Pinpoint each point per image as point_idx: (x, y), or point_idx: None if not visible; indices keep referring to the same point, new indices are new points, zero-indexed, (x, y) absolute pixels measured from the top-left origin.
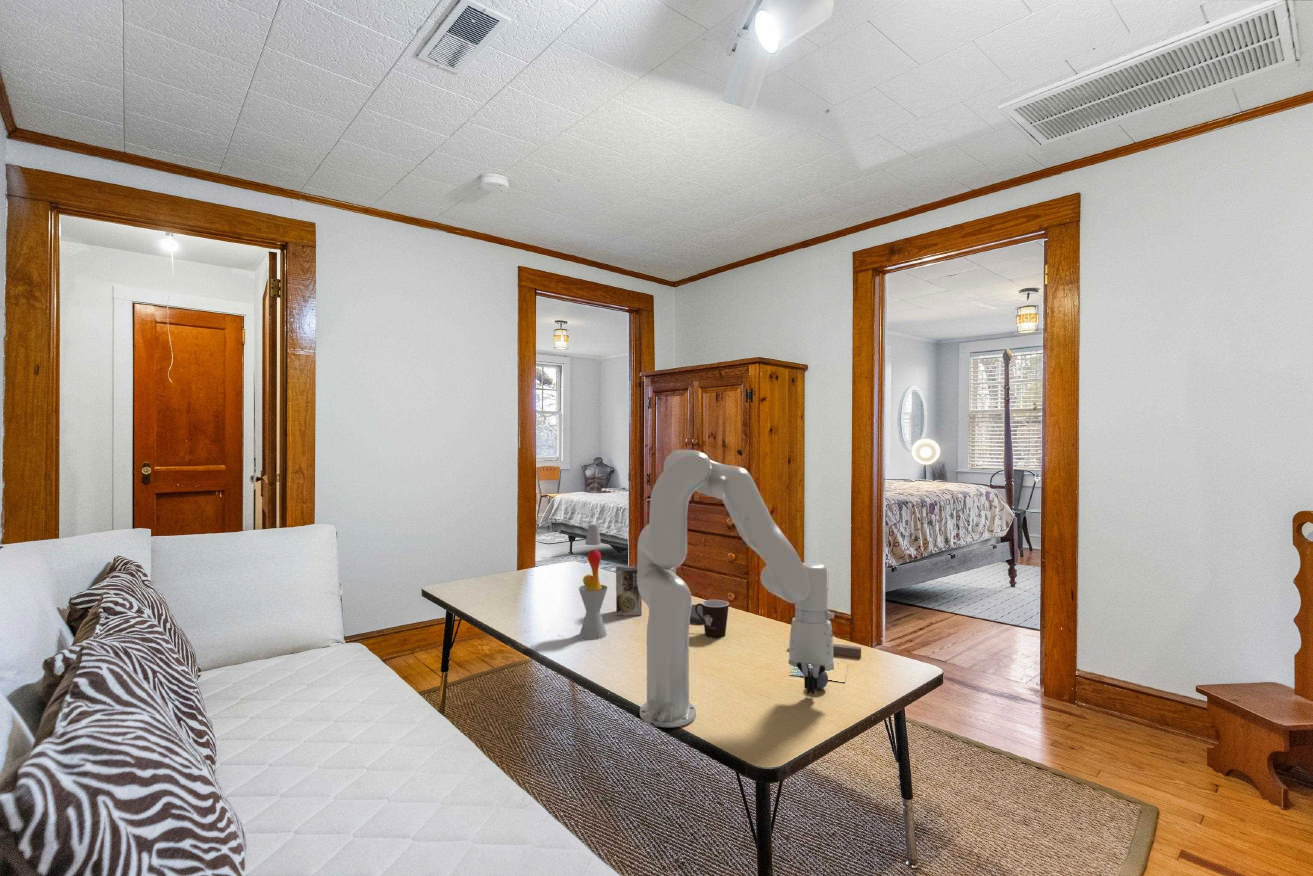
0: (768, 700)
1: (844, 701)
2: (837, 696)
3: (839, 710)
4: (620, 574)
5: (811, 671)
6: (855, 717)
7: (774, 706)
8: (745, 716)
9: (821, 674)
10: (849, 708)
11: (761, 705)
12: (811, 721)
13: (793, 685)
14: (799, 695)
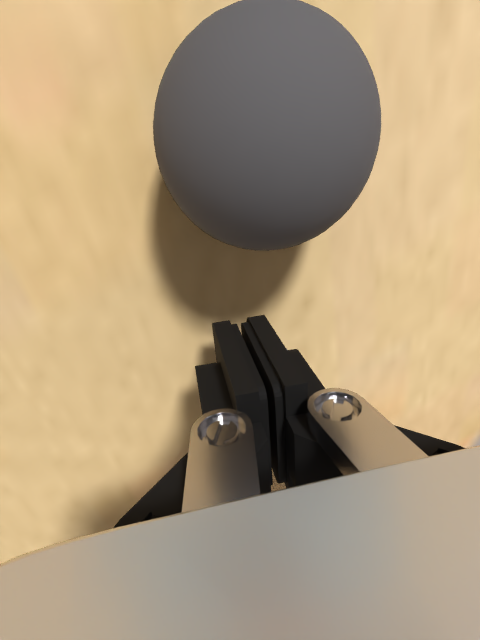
0: (3, 495)
1: (429, 286)
2: (391, 230)
3: (397, 405)
4: None
5: (220, 198)
6: (462, 431)
7: (75, 532)
8: None
9: (336, 212)
10: (446, 359)
11: (4, 557)
12: None
13: (31, 174)
14: (151, 340)
